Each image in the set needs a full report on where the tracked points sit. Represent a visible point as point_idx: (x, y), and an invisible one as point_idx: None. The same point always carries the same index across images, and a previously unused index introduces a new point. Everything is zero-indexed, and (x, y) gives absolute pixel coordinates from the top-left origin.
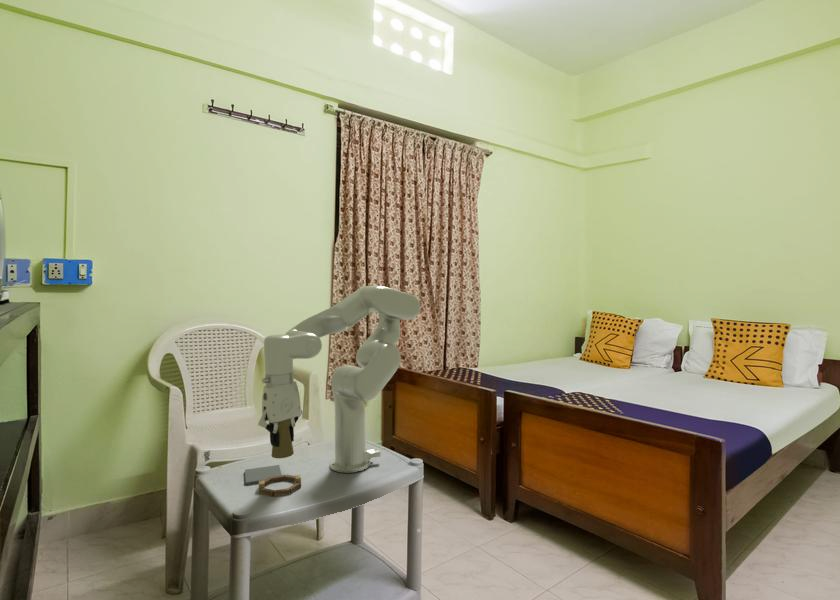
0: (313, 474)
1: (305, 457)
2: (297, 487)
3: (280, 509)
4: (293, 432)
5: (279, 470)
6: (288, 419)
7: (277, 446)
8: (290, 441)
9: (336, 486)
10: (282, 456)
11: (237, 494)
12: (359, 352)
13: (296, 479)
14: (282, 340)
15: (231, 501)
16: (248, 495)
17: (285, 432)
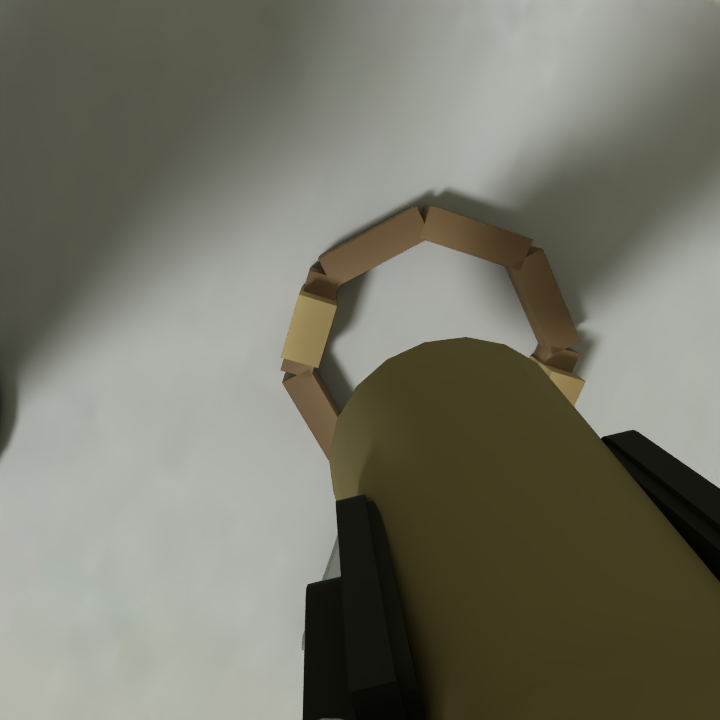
0: (152, 407)
1: (96, 686)
2: (350, 240)
3: (583, 7)
4: (308, 640)
5: (336, 568)
6: None
7: (631, 433)
8: (415, 462)
9: (80, 91)
10: (516, 354)
11: (666, 420)
12: None
13: (333, 302)
14: None
15: None
16: (628, 365)
17: (598, 560)
